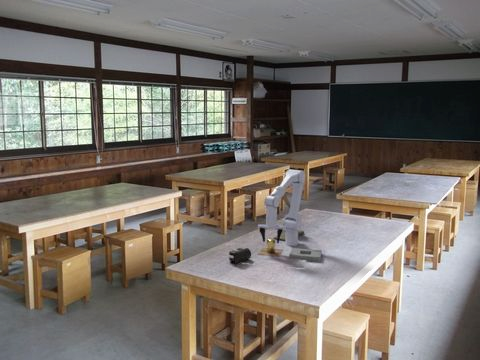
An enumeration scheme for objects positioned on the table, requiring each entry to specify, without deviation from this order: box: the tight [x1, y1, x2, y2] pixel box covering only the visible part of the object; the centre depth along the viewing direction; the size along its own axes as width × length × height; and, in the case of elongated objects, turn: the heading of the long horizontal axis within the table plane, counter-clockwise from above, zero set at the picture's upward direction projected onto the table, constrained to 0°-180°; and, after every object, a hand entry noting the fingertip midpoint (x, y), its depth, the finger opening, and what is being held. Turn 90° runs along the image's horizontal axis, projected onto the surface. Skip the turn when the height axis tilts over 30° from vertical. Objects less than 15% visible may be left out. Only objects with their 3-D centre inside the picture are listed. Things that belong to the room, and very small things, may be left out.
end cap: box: [228, 247, 252, 265], centre depth 241 cm, size 10×7×7 cm
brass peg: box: [266, 238, 276, 253], centre depth 255 cm, size 4×4×7 cm
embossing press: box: [272, 193, 305, 242], centre depth 287 cm, size 11×24×30 cm, turn 144°
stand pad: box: [257, 247, 284, 257], centre depth 256 cm, size 12×12×1 cm
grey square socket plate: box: [288, 247, 322, 263], centre depth 251 cm, size 12×16×2 cm
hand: (271, 242), depth 255 cm, fingers open, 7 cm apart
